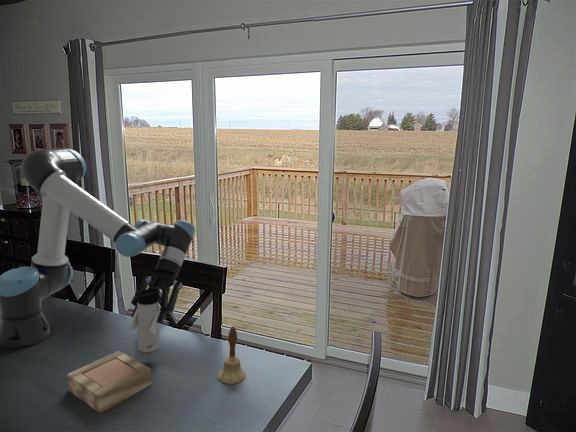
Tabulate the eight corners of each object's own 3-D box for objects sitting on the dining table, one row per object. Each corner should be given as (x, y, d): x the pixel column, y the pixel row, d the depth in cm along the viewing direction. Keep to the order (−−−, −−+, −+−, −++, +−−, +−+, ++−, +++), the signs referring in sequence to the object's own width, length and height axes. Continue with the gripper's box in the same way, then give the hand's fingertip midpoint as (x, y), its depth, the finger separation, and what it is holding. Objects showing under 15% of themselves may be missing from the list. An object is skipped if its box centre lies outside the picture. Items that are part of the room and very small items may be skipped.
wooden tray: (68, 390, 112) (67, 374, 111) (119, 365, 124) (118, 350, 123) (100, 413, 103) (99, 396, 102) (151, 384, 116) (150, 368, 115)
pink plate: (83, 378, 112) (83, 373, 112) (115, 363, 120) (115, 358, 120) (103, 392, 107) (103, 387, 106) (136, 375, 114) (135, 370, 114)
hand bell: (250, 371, 124) (251, 323, 121) (238, 387, 116) (238, 336, 113) (225, 365, 127) (226, 318, 123) (212, 380, 119) (212, 330, 116)
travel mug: (153, 357, 123) (153, 296, 119) (134, 353, 125) (132, 293, 120) (163, 346, 129) (163, 288, 125) (145, 343, 131) (144, 285, 126)
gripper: (200, 272, 135) (175, 340, 123) (149, 264, 139) (120, 329, 127) (192, 261, 129) (165, 332, 116) (139, 254, 133) (108, 321, 121)
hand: (141, 330), depth 122 cm, fingers closed on travel mug, 6 cm apart
